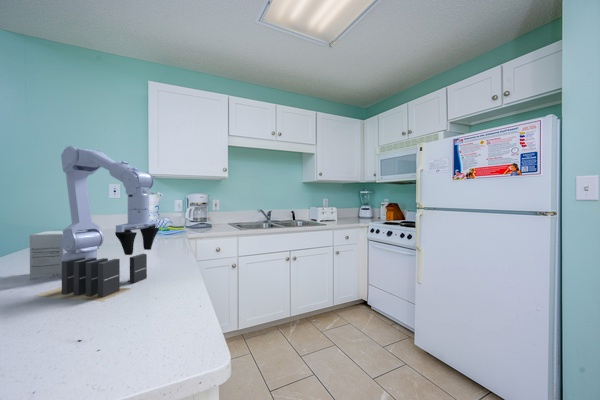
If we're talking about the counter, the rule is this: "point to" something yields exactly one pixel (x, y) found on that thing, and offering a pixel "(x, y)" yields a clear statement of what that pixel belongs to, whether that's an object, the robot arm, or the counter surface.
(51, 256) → the supplement box
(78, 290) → the domino
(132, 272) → the domino
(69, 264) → the domino
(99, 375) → the counter surface
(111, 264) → the domino
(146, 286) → the counter surface
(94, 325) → the counter surface
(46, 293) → the board
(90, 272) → the domino
